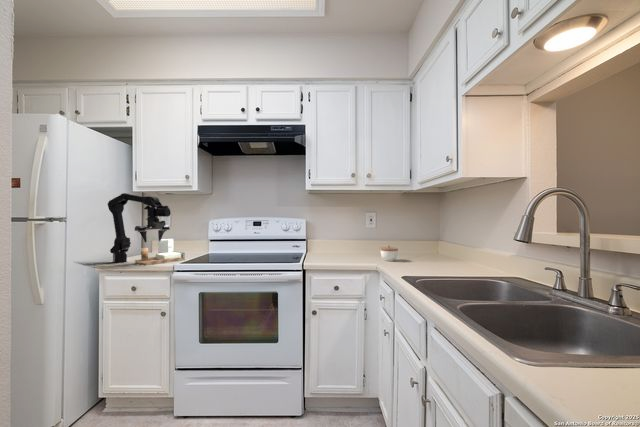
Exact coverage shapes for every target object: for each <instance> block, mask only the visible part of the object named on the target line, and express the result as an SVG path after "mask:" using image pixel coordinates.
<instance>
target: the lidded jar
mask: <svg viewBox="0 0 640 427" xmlns="http://www.w3.org/2000/svg"><path fill="white" fill-rule="evenodd" d="M379 249H380V250H379V251H380V257H381V259H382V260H384V261H385V262H394V261H395V260H396V259H397V257H398V250H399V249H398V248H397V247H391V246H390V245H387V247H380V248H379Z"/></svg>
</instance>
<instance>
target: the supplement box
mask: <svg viewBox="0 0 640 427" xmlns="http://www.w3.org/2000/svg"><path fill="white" fill-rule="evenodd" d="M157 240H158V241H157V242H158V244H157V247H158V250H157V251H158V252H157V254H161V253H171V252H172V251H174V238H167V239H166V238H161V241H159V239H157Z"/></svg>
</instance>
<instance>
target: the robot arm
mask: <svg viewBox="0 0 640 427" xmlns="http://www.w3.org/2000/svg"><path fill="white" fill-rule="evenodd" d="M129 201H132V202H138V203H142V204H143V205H146V206H145V207H144V208H143V210H146V214H147V215H146V217H147V218H146V219H145V220H146V221H147V224H146V225H136V226H135V227H134V231H136V232H137V233H139V234H140V236H141V237H142V240H143V241H144V243H147V232H148V231H149V230H157V236H158V240H159V241H161V240H162V239H163V238H162V237H163V235H164V233H165V232H167V231H168V230H170V229H171V228H170V225H168V224H167V223H166V221H165V220H161V221H160V218H161V217H166V218H168V217H170V216H171V214H172V213H171V208H170V207H169V205H163V204H162V202H161V200H160V199H159V197H158V196H142V195H137V194H130V193H127V192H126V193H121V194H119V195H118V196H115V197H114V198H112V199H109V201H108V202H107V207H108V209H109V212H110V213H111V214H112V218H113V225H114V226H113V227H114V231H115V238H114V242H113V246H112V247H111V248H110V250H109V251H110V253H111V254H112V261H111V263H113V262H115V263H114V264H119V263H118V262H121V263H127V262H128V258H127V257H128V254H127V252H129V249H130V247H131V244H132V243H131V238H130V237H127V236H126V231H125V224H124V218H123V212H124V210H125V206H126V205H127V204H128V202H129ZM159 217H160V218H159ZM126 261H127V262H126Z"/></svg>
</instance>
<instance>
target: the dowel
mask: <svg viewBox="0 0 640 427" xmlns="http://www.w3.org/2000/svg"><path fill="white" fill-rule="evenodd" d="M140 248H141V249H140V250H141V252H140V255H141V257H140V258H141V259H149V248H148V247H140Z"/></svg>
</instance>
